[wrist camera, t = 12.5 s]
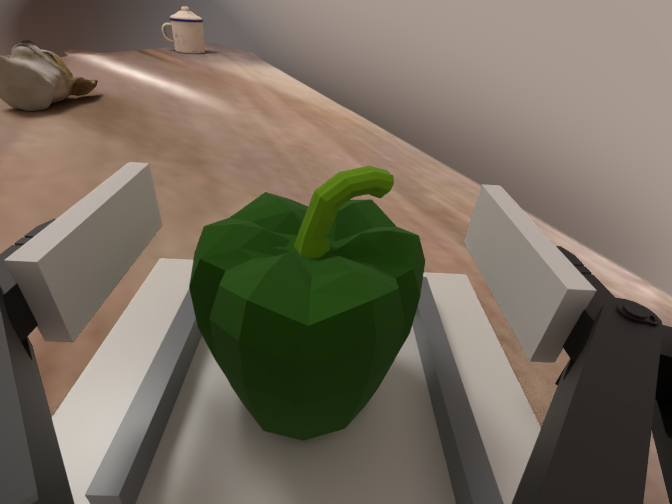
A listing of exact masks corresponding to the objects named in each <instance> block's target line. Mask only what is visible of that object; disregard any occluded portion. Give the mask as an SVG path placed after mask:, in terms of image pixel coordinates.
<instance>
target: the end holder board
mask: <svg viewBox="0 0 672 504" xmlns="http://www.w3.org/2000/svg"><path fill="white" fill-rule="evenodd" d="M192 266H193V260H184V259H165V258H160V259H159V261H158V262H157V264H156V265H155V267H154V268H153V269H152V271H151V272H150V274H149V275H148V277H147V278H146V280H145V281H144V283H143V284H142V286H141V287H140V289H139V290H138V292H137V293H136V295H135V296H134V297H133V299H132V300H131V302H130V303H129V305H128V306H127V308H126V309H125V311H124V312H123V314H122V315H121V317H120V318H119V320H118V321H117V323H116V324H115V326H114V327H113V328H112V330H111V331H110V333H109V334H108V336H107V337H106V339H105V340H104V342H103V343H102V345H101V346H100V348H99V349H98V351H97V352H96V354H95V355H94V357H93V358H92V359H91V361H90V362H89V364H88V365H87V367H86V368H85V370H84V371H83V373H82V374H81V376H80V377H79V379H78V380H77V382H76V383H75V385H74V386H73V387H72V389H71V390H70V392H69V393H68V395H67V396H66V398H65V399H64V401H63V402H62V404H61V405H60V407H59V408H58V410H57V411H56V413H55V414H54V416H53V417H52V421H53V425H54V429H55V433H56V436H57V440H58V444H59V448H60V451H61V455H62V459H63V463H64V466H65V470H66V474H67V478H68V481H69V485H70V489H71V493H72V496H73V500H74V504H512V501H513V499H514V496H515V493H516V491H517V488H518V486H519V483H520V481H521V478H522V476H523V473H524V471H525V468H526V465H527V463H528V460H529V458H530V455H531V453H532V450H533V448H534V445H535V443H536V440H537V438H538V435H539V432H540V430H541V427H540V425H539V423H538V421H537V419H536V417H535V415H534V413H533V411H532V409H531V407H530V405H529V402H528V400H527V398H526V396H525V394H524V392H523V390H522V388H521V386H520V384H519V382H518V380H517V378H516V376H515V374H514V372H513V370H512V368H511V366H510V364H509V362H508V359H507V357H506V355H505V353H504V351H503V349H502V347H501V345H500V343H499V341H498V339H497V337H496V335H495V333H494V331H493V329H492V327H491V325H490V323H489V321H488V318H487V316H486V314H485V312H484V310H483V308H482V306H481V304H480V302H479V300H478V298H477V296H476V294H475V292H474V290H473V288H472V286H471V284H470V282H469V280H468V278H467V275H463V274H444V273H425V272H424V274H423V281H422V289H421V296H420V300H419V303H418V307H417V310H416V314H415V317H414V321H413V324H412V328H411V331H410V334H409V336H408V338H407V339H406V341H405V343H404V344H403V346H402V348H401V349H400V351H399V353H398V355H397V356H396V358H395V360H394V362H393V364H392V365H391V367H390V369H389V371H388V372H387V374H386V376H385V378H384V379H383V381H382V383H381V384H380V386H379V388H378V389H377V391H376V392H375V393H374V395H373V396H372V398H371V399H370V400H369V402H368V403H367V405H366V406H365V407H364V408H363V409H362V410H361V411H360V413H359V414H358V415H357V416H356V417H355V418H354V419H353V420H352V422H351V423H350V424H349V425H348V426H347V427H346V428H345V429H342V430H339V431H335V432H332V433H328V434H325V435H321V436H318V437H314V438H311V439H308V440H304V441H303V440H299V439H295V438H291V437H286V436H282V435H278V434H274V433H270V432H266V431H263V429H262V428H261V427H260V426H259V424H258V423H257V422H256V420H255V419H254V418H253V416H252V415H251V414H250V413H249V411H248V410H247V409H246V407H245V406H244V405H243V403H242V402H241V400H240V399H239V397H238V396H237V394H236V393H235V391H234V390H233V388H232V387H231V385H230V383H229V381H228V379H227V378H226V376H225V374H224V373H223V371H222V370H221V368H220V367H219V365H218V364H217V362H216V361H215V359H214V357H213V355H212V353H211V351H210V349H209V348H208V346H207V344H206V342H205V340H204V338H203V336H202V334H201V333H200V331H199V329H198V326H197V322H196V317H195V312H194V308H193V303H192V299H191V294H190V289H189V284H190V278H191V272H192Z"/></svg>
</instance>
